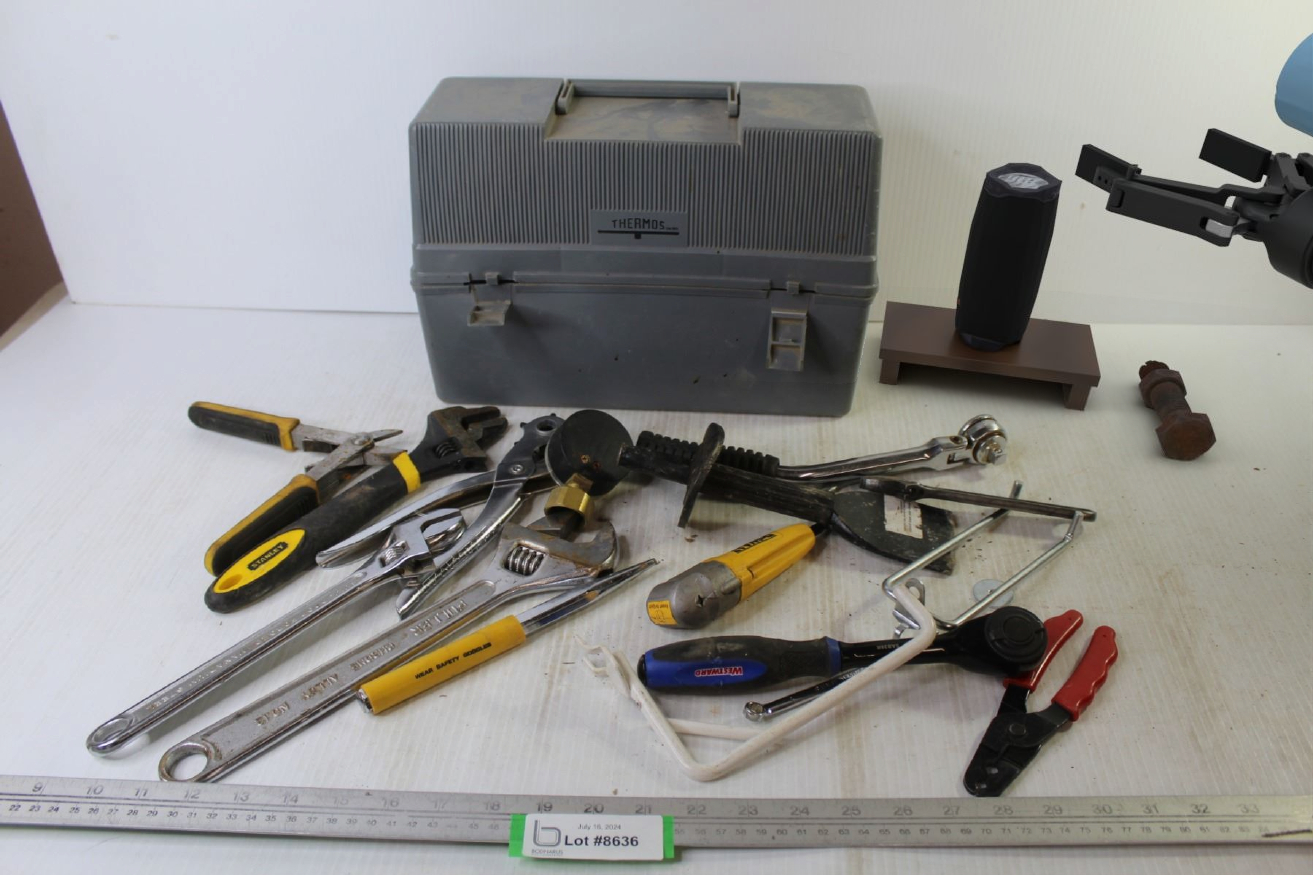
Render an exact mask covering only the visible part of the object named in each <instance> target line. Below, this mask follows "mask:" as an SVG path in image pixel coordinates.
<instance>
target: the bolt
mask: <svg viewBox="0 0 1313 875" xmlns="http://www.w3.org/2000/svg"><path fill="white" fill-rule="evenodd" d="M1138 376H1139V379H1140V381H1139V383H1138V389H1139V391H1140V394H1141V397H1142V399H1143V402H1144V404H1145V407H1147V408H1150V409H1154V411H1155V413H1156V415H1157V417H1158V419H1159V421H1160V424H1159V425H1158V426H1157V427H1156V428H1155V429H1154V431H1155V434H1156V436H1157V440H1158V442H1159V445H1160V447H1161V450H1162V452H1163V455H1164V457H1167V458H1169V459H1174V460H1178V461H1179V460H1180V461H1191V460H1195V459H1198V458H1200V457H1202V456H1204V454H1206V453H1207V452H1208V451H1210V449H1211V448H1212V447H1213V446H1214V445H1215V443H1216V442H1217V436H1216V434H1215V430H1214V428H1213V425H1212V422H1211V419H1210V417H1209V416H1208V413H1205V412H1203V413H1202V412H1194V411H1192V408H1191V406H1190V404H1189V403H1188V401H1187V398H1186V396H1187V395H1188V391H1187V388H1186V385H1185V382H1184V379H1183V377H1182V374H1181V373H1180V371H1179V370H1175V369H1170V367H1169V365H1168V364H1167V363H1166V362H1162V361H1157V360H1154V359H1153V360H1152V359H1150V360H1149V359H1148V360H1147V361H1145V362H1144V364H1142V365H1141V366H1140V367H1139V369H1138Z"/></svg>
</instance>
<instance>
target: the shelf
mask: <svg viewBox="0 0 1313 875" xmlns="http://www.w3.org/2000/svg"><path fill="white" fill-rule="evenodd" d="M955 315H956V308H951V307H942V306H934V305H925V304H918V303H917V304H916V303H909V302H901V301H892V300H886V305H885V311H884V317H883V324H882V331H881V339H880V346H879V352H878V359H879V360H881V365H880V372H879V380H878V383H880V384H887V385H894V386H896V385H897V382H898V378H899V377H898V376H899V371H900V367H901V366H900V364H901V363H906V364H907V363H908V364H915V365H922V366H929V367H930V366H931V367H938V368H946V369H953V370H959V371H960V370H961V371H969V372H975V373H976V372H977V373H984V374H992V375H1000V376H1007V377H1014V378H1015V377H1016V378H1022V379H1030V380H1038V381H1045V382H1053V383H1061V384H1062V392H1063V400H1064V405H1065V409H1069V410H1077V411H1085V409H1086V407H1087V406H1086V405H1087V402H1088V399H1089V397H1090V393H1091V389H1092V387H1093V388H1098V387H1099V385H1100V384H1099V383H1100V380H1101V377H1102V375H1101V370H1100V365H1099V360H1098V356H1097V352H1096V347H1095V342H1094V337H1093V333H1092V327H1091V325H1090V324H1086V323H1079V322H1070V321H1062V320H1061V321H1060V320H1053V319H1043V318H1038V317H1037V318H1036V317H1030V319H1029V323H1028V326H1027V329H1026V331H1025V333H1024V335H1023V338H1022V341H1021V342H1020V343H1017V342H1013V343H1010V344H1008V345H1005V346H1003V347H1001V348H1000V349H998V350H997V351H996V352H991V351H984V350H977V349H975V348H973V347H971V346H969V345H967V344H965V343H964V342H963V339H962V336H961V334H960V333H959V332H958V330H957V329H956V327H955Z"/></svg>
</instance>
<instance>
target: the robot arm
mask: <svg viewBox="0 0 1313 875" xmlns="http://www.w3.org/2000/svg"><path fill="white" fill-rule="evenodd" d="M1280 70H1281V71H1280V73H1279V76H1278V78H1277V81H1276V84H1275V95H1274V110H1275V112H1276V114H1277V116H1278V118H1279V120H1280V121H1281V122H1282V123H1283V124H1285V125H1286V126H1287V127H1289V128H1292V129H1293V130H1297V131H1298V132H1301V133H1302V134H1305V135H1307V136H1309V137H1312V138H1313V32H1312V33H1310V34H1309V35H1308V36H1306V37H1305V38H1304V39H1303V40H1302V41H1301V42H1300V43H1299V44H1298V45H1297V46H1296V48H1295V49H1294V50H1293V51H1292V52H1291V54H1290V55H1289V56H1288V58H1287V59H1286V61H1285V62H1284V64H1283V66H1282V68H1281V69H1280ZM1081 146H1082V147H1081V150H1080V154H1079V157H1078V161H1077V165H1076V169H1075V173H1074V176H1076V177H1078V178H1079V179H1082V180H1083V181H1085V182H1087V183H1089V184H1091V185H1093V186H1095V187H1097V188H1099V189H1100V190H1102V191H1104V192H1106V193H1108V194H1109V195H1108V197H1107V201H1106V206H1105V210H1106V211H1107V212H1108V213H1109V212H1110V213H1112V214H1116V215H1120V216H1123V217H1127V218H1130V219H1134V220H1137V221H1140V222H1144V223H1148V224H1150V225H1155V226H1159V227H1162V228H1165V229H1167V230H1168V229H1169V230H1171V231H1175V232H1178V233H1183V234H1185V235H1189V236H1193V237H1196V238H1199V239H1200V240H1202V241H1205V242H1208V243H1210V244H1212V245H1214V246H1216V247H1219V248H1227V247H1229V246H1230V244H1231V241H1232V238H1233V237H1234V236H1241V237H1242V238H1243V239H1244V240H1247V241H1251V242H1257V243H1262V244H1263V245H1264V247H1265V250H1266V253H1267V254H1266V255H1267V258H1268V260H1269V261H1268V262H1269V264H1270V266H1271V267H1272V268H1273V270H1275V271H1276V272H1277V273H1279V274H1281V275H1283V276H1285V277H1286V278H1289V279H1291V280H1293V281H1295V282H1296V283H1298V284H1300V285H1302V286H1304V287H1306V288H1308V289H1310V290H1313V154H1311V153H1310V152H1306V151H1304V152H1298V153H1297V156H1296V158H1295V157H1292V155H1291V154H1289V153H1287V152H1284V151H1283V152H1275V153H1273V151H1272V150H1270V149H1267V148H1265V147H1262V146H1260V145H1257V144H1256V143H1253V142H1250V141H1247V140H1245V139H1242V138H1241V137H1238V136H1235V135H1233V134H1231V133H1229V132H1226V131H1223V130H1220V129H1219V128H1215V127H1212V128H1207V131H1206V134H1205V137H1204V140H1203V143H1202V145H1201V149H1200V152H1199V155H1198V159H1199V160H1201V161H1204V162H1206V163H1208V164H1211V165H1213V166H1215V167H1217V168H1220V169H1221V170H1224V171H1226V172H1229V173H1231V174H1233V175H1234V176H1237V177H1239V178H1242V179H1245V180H1246V181H1249V182H1251V183H1253V184H1257V183H1261V182H1262V180H1263V177H1264V176H1266V177H1265V180H1264V183H1263V186H1261V187H1258V188H1257V187H1256V188H1255V187H1251V186H1245V185H1239V184H1233V183H1223V184H1222V185H1221V186H1219V187H1215V186H1214V187H1213V186H1209V185H1203V184H1196V183H1192V182H1185V181H1180V180H1175V179H1174V180H1173V179H1170V178H1169V179H1168V178H1162V177H1157V176H1153V175H1146V174H1142V171H1143V169H1142V168H1141V167H1139V164H1135V163H1130V162H1128V161H1126V160H1125V159H1122V158H1120V157H1118V156H1117V155H1116V156H1115V155H1114V154H1112V153H1110V152H1108V151H1106V150H1103V149H1102V148H1099V147H1098V146H1095V145H1093V144H1091V143H1085V144H1082V145H1081ZM1230 197H1234V199H1233V201H1232V204H1231V206H1229V205H1226V204H1227V201H1228V199H1229V198H1230Z"/></svg>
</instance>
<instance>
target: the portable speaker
mask: <svg viewBox="0 0 1313 875" xmlns="http://www.w3.org/2000/svg"><path fill="white" fill-rule="evenodd" d="M1062 184H1063V180H1062V179H1060V178H1058V177H1055V175H1053V174H1052V173H1050V172H1049V171H1047V170H1046V169H1045V168H1044V167H1042V166H1041V165H1038V164H1034V163H1031V162H1030V163H1029V162H1008V163H1006V164H1004V165H1002V166H999V167H995V168H993V169H991V170H989V171H987V172H986V173H985V178H984V179H983V182H982V187H981V189H980V193H979V196H978V200H977V204H976V207H975V211H974V214H973V215H972V216H973V217H972V219H971V223H970V227H969V233H968V237H967V243H966V248H965V253H964V258H963V263H962V269H961V273H960V277H959V278H960V279H959V284H958V292H957V296H956V307H955V309H956V315H955V327H956V329H957V330H958V332H959V333H960V334H961V336H962V339H963V342H964V343H965V344H967V345H969V346H971V347H973V348H975V349H977V350H984V351H991V352H996V351H997V350H998V349H1000V348H1001V347H1003V346H1005V345H1008V344H1010V343H1013V342H1017V343H1020V342H1021V341H1022V338H1023V335H1024V333H1025V331H1026V329H1027V326H1028V323H1029V319H1030V318H1031V316H1032V313H1033V310H1034V307H1035V304H1036V300H1037V297H1038V295H1039V290H1040V286H1041V283H1042V279H1043V275H1044V271H1045V267H1046V264H1047V259H1048V256H1049V252H1050V248H1051V245H1052V244H1051V243H1052V240H1053V236H1054V232H1055V226H1056V219H1057V213H1058V206H1059V202H1060V201H1059V200H1060V190H1061V189H1062V188H1061V187H1062Z"/></svg>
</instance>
